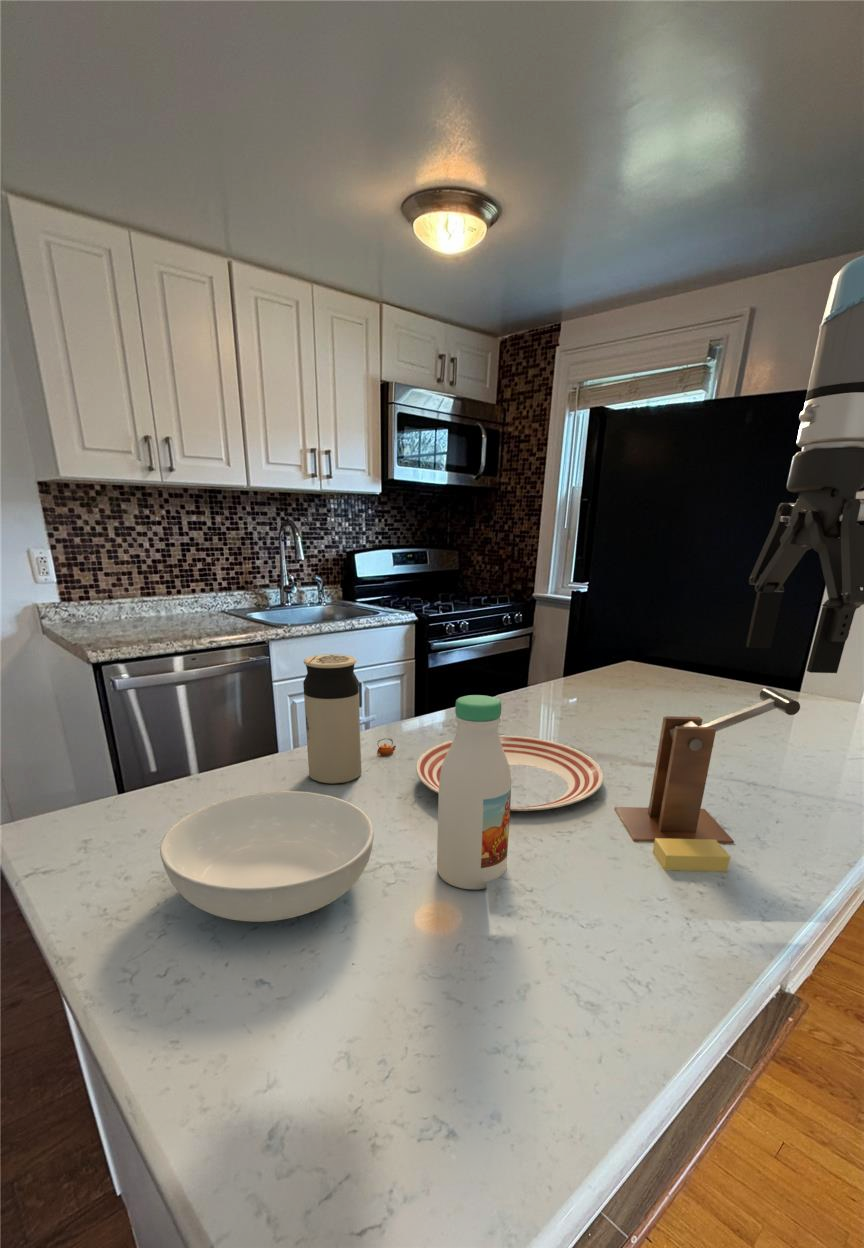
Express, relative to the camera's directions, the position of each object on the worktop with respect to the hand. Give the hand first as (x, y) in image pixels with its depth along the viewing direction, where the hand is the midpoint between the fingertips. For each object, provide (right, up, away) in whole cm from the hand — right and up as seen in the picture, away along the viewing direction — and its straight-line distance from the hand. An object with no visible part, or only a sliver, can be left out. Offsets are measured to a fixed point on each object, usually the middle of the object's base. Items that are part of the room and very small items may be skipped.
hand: (786, 659), depth 69 cm
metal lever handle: (-5, -8, +3) cm, 10 cm away
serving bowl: (-57, -25, -5) cm, 63 cm away
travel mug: (-55, -14, +25) cm, 62 cm away
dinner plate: (-29, -15, +22) cm, 40 cm away
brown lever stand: (-10, -21, +8) cm, 25 cm away
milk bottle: (-36, -24, -1) cm, 43 cm away
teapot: (-48, -10, +34) cm, 60 cm away
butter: (-11, -24, 0) cm, 27 cm away
